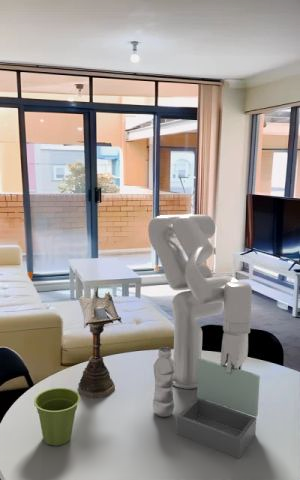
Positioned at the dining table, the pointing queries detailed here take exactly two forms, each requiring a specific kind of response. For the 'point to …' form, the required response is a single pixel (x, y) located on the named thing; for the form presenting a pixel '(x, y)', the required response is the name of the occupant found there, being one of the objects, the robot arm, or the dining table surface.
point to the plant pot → (57, 414)
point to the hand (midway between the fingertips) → (234, 386)
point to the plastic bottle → (164, 383)
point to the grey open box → (215, 436)
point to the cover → (228, 387)
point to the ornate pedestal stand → (97, 344)
